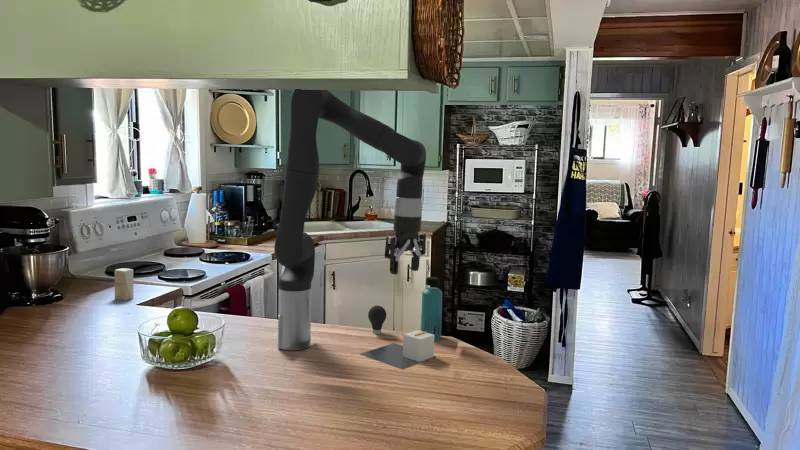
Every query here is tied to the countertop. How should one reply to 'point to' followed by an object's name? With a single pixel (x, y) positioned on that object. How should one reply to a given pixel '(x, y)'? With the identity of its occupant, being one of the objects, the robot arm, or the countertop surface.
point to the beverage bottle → (432, 308)
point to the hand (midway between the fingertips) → (404, 272)
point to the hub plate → (392, 356)
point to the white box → (418, 345)
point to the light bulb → (377, 318)
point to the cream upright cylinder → (123, 284)
